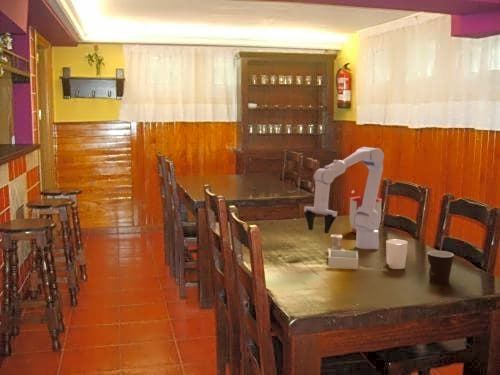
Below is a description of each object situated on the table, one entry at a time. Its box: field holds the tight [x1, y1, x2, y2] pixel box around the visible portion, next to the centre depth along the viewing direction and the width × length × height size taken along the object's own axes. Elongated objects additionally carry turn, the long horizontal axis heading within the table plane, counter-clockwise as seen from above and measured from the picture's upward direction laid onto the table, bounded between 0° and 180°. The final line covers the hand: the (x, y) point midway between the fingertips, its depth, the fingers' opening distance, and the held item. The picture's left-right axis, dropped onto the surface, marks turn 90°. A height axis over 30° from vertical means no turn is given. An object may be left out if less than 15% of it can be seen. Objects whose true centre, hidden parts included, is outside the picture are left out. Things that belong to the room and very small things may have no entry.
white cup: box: [385, 238, 409, 270], centre depth 205 cm, size 8×8×10 cm
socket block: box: [330, 234, 343, 250], centre depth 223 cm, size 5×5×6 cm
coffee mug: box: [427, 250, 455, 285], centre depth 189 cm, size 12×9×10 cm
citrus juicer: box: [349, 193, 383, 234], centre depth 260 cm, size 16×17×20 cm
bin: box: [327, 250, 359, 270], centre depth 209 cm, size 11×11×4 cm
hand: (318, 231), depth 217 cm, fingers open, 7 cm apart
